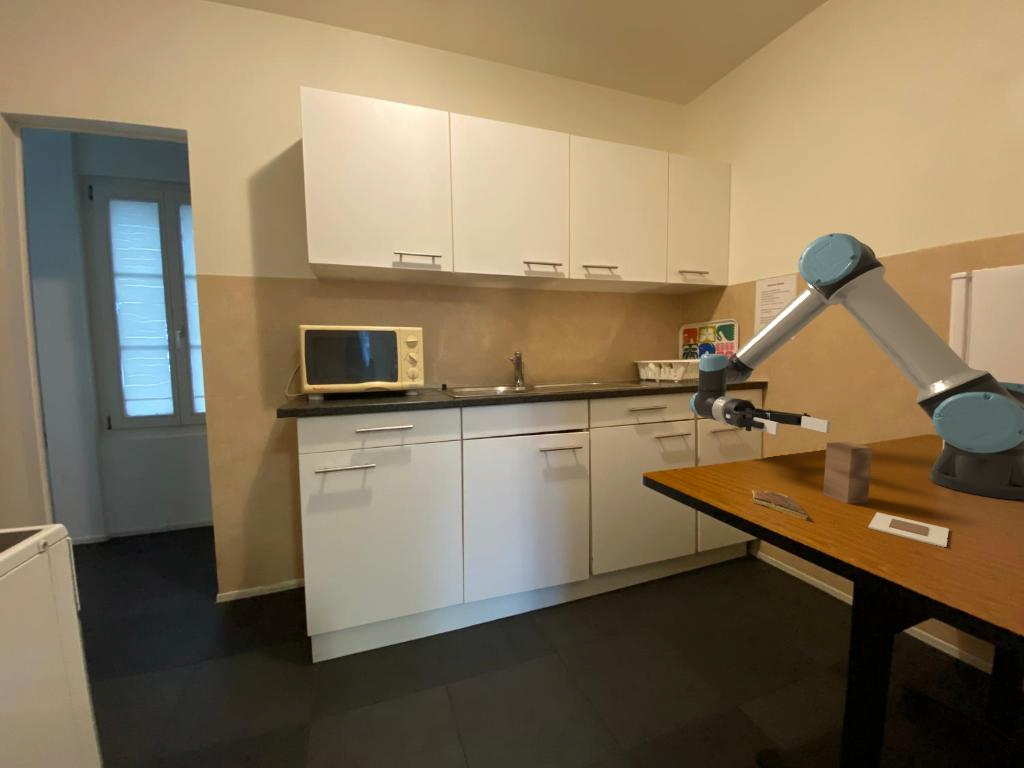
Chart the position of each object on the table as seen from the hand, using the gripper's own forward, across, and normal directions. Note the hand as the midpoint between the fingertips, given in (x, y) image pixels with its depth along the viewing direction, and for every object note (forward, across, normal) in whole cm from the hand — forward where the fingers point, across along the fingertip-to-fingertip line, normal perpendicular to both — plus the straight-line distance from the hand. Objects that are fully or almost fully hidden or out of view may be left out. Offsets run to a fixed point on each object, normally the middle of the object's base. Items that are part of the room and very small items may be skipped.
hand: (803, 428), depth 90 cm
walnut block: (+10, 0, -12) cm, 16 cm away
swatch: (+24, +3, -12) cm, 27 cm away
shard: (+11, +15, -13) cm, 23 cm away
